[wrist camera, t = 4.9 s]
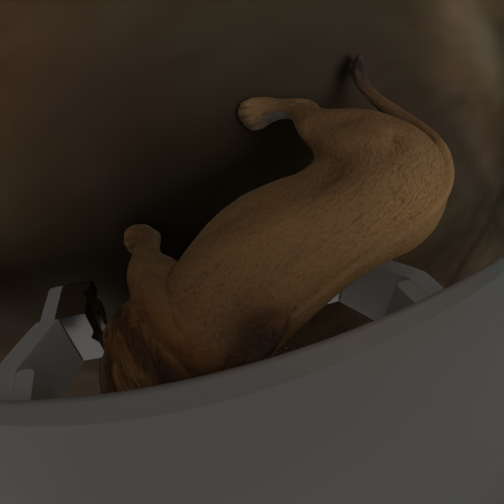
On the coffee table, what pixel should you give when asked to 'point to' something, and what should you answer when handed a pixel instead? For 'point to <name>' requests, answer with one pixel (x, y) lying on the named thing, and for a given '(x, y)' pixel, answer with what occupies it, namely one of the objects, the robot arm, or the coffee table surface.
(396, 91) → the coffee table surface
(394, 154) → the lion figurine
